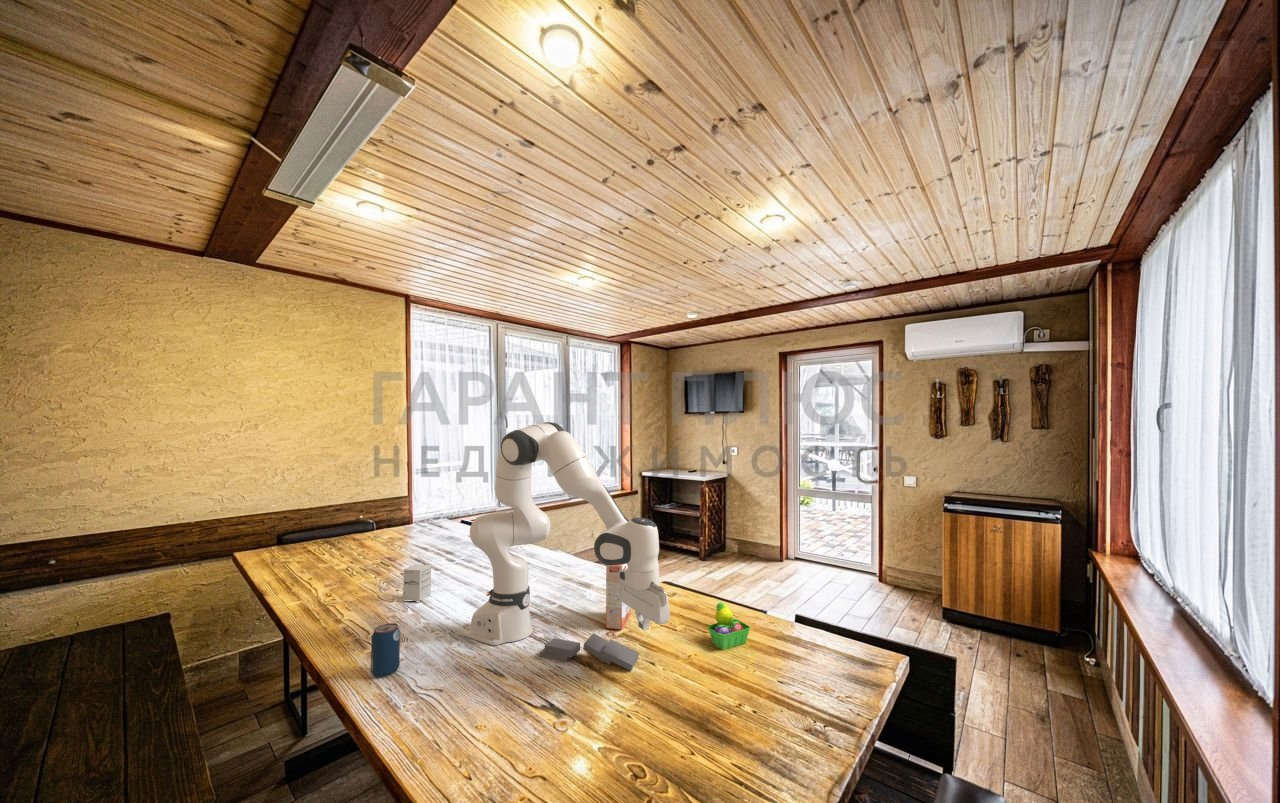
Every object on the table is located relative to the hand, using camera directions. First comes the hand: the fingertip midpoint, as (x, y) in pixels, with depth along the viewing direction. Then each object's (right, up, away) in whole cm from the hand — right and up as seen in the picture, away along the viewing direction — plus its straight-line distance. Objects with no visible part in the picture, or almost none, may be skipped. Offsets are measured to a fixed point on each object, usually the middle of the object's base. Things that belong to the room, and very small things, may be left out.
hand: (643, 628), depth 129 cm
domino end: (-2, -9, 0) cm, 10 cm away
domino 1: (-21, -11, +6) cm, 24 cm away
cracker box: (-8, -13, +31) cm, 35 cm away
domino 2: (-20, -9, +6) cm, 22 cm away
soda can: (-71, -12, -1) cm, 72 cm away
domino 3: (-8, -10, +3) cm, 13 cm away
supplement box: (-89, -15, +55) cm, 106 cm away
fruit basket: (+26, -12, +15) cm, 32 cm away
